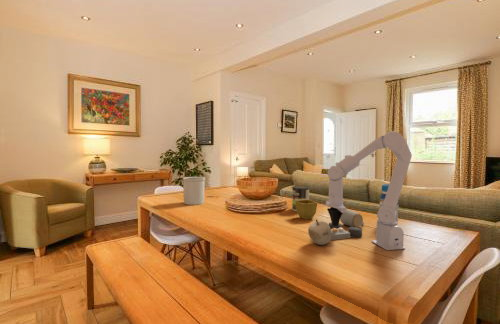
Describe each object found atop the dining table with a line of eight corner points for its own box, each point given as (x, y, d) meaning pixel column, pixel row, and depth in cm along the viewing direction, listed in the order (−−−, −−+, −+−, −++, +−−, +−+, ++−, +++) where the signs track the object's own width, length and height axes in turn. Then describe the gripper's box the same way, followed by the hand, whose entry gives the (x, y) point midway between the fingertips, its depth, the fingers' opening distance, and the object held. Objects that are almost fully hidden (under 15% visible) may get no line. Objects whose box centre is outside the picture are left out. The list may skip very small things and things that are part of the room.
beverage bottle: (400, 228, 127) (402, 186, 126) (381, 227, 129) (382, 186, 128) (395, 223, 135) (396, 184, 134) (376, 223, 137) (377, 183, 136)
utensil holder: (198, 200, 197) (198, 176, 196) (209, 203, 186) (209, 177, 185) (179, 202, 188) (179, 177, 187) (189, 206, 176) (189, 179, 176)
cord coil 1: (343, 232, 123) (343, 225, 123) (331, 232, 122) (332, 226, 122) (337, 228, 128) (337, 222, 128) (326, 229, 127) (326, 222, 127)
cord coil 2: (364, 237, 115) (364, 230, 115) (352, 238, 114) (352, 231, 114) (357, 233, 121) (357, 226, 121) (345, 234, 120) (345, 227, 120)
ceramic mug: (353, 229, 126) (353, 213, 126) (339, 225, 134) (340, 209, 133) (368, 226, 131) (369, 211, 131) (354, 222, 139) (355, 207, 138)
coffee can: (298, 212, 160) (298, 188, 159) (288, 208, 169) (289, 186, 168) (312, 210, 164) (313, 187, 163) (302, 207, 173) (302, 185, 172)
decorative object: (335, 244, 107) (335, 219, 106) (323, 250, 101) (323, 223, 100) (316, 238, 113) (316, 215, 113) (303, 244, 107) (303, 219, 107)
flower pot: (317, 219, 145) (317, 202, 144) (303, 220, 141) (303, 203, 141) (308, 215, 153) (308, 199, 152) (294, 216, 149) (294, 200, 149)
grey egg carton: (350, 238, 115) (350, 230, 115) (329, 241, 112) (329, 232, 112) (339, 233, 122) (340, 225, 121) (320, 235, 118) (320, 227, 118)
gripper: (319, 191, 122) (319, 221, 123) (335, 197, 108) (334, 231, 109) (334, 191, 123) (333, 220, 124) (351, 196, 109) (350, 230, 110)
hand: (335, 225), depth 116 cm, fingers closed
